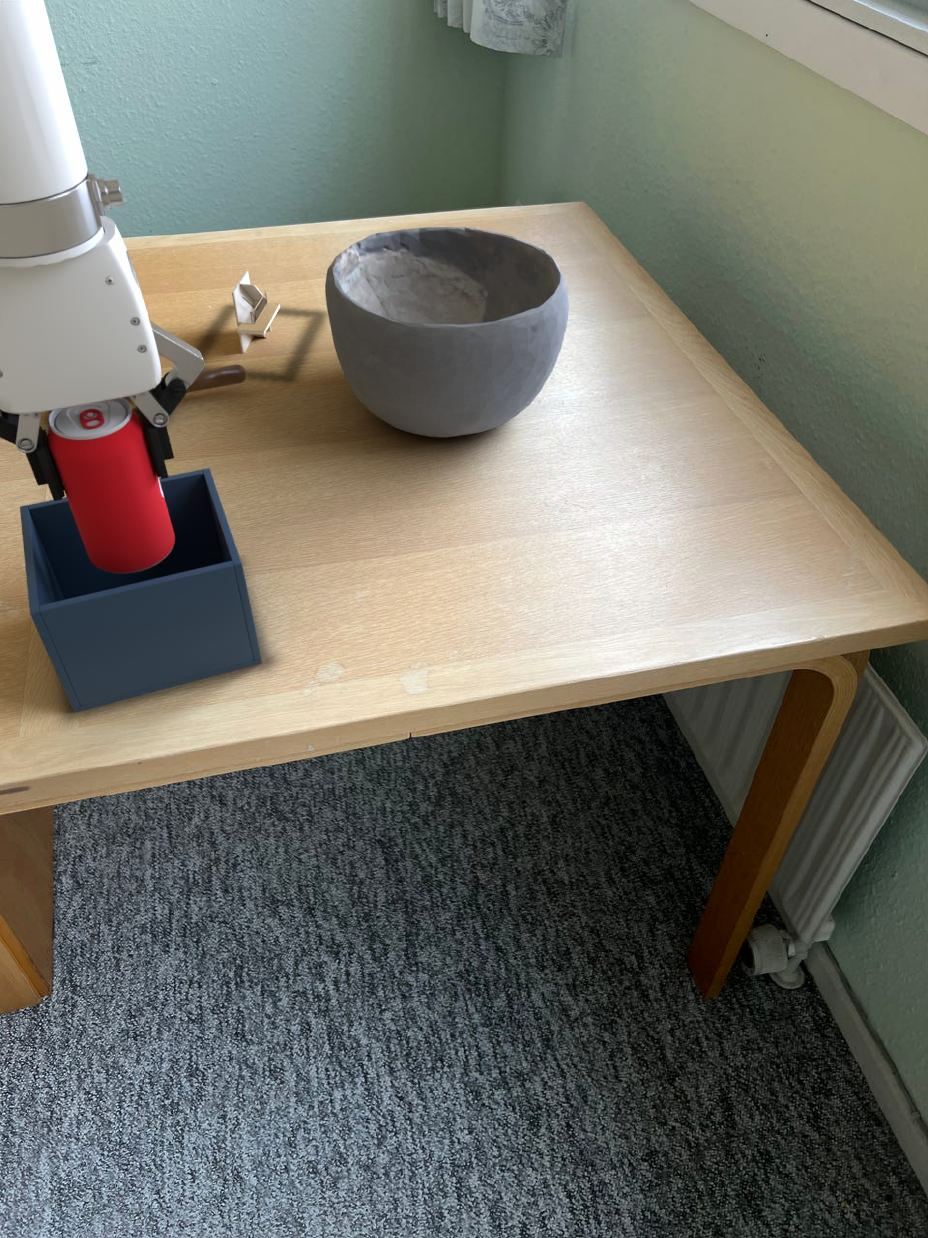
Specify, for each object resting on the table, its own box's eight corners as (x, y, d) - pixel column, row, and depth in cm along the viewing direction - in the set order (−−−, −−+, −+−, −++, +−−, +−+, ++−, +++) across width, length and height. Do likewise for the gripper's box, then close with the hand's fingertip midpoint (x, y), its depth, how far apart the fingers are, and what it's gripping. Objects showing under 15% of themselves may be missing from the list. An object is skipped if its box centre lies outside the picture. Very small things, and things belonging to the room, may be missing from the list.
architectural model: (284, 332, 110) (276, 271, 105) (268, 361, 105) (259, 299, 100) (256, 330, 110) (246, 269, 105) (238, 359, 105) (228, 297, 100)
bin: (74, 714, 69) (29, 613, 61) (60, 606, 77) (19, 506, 69) (262, 664, 73) (242, 563, 65) (231, 566, 80) (209, 467, 73)
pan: (59, 454, 92) (49, 427, 89) (51, 399, 99) (42, 372, 96) (261, 415, 97) (256, 389, 95) (239, 366, 104) (235, 340, 102)
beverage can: (166, 517, 71) (128, 379, 63) (186, 566, 67) (149, 426, 59) (83, 539, 69) (32, 400, 61) (98, 590, 65) (47, 449, 57)
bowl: (385, 332, 110) (380, 203, 100) (583, 370, 105) (599, 239, 94) (291, 441, 94) (272, 302, 83) (519, 494, 89) (530, 352, 78)
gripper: (174, 170, 56) (224, 424, 68) (-144, 208, 51) (-26, 473, 64) (196, 218, 51) (246, 482, 63) (-152, 264, 46) (-23, 539, 59)
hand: (109, 475), depth 63 cm, fingers closed on beverage can, 6 cm apart
